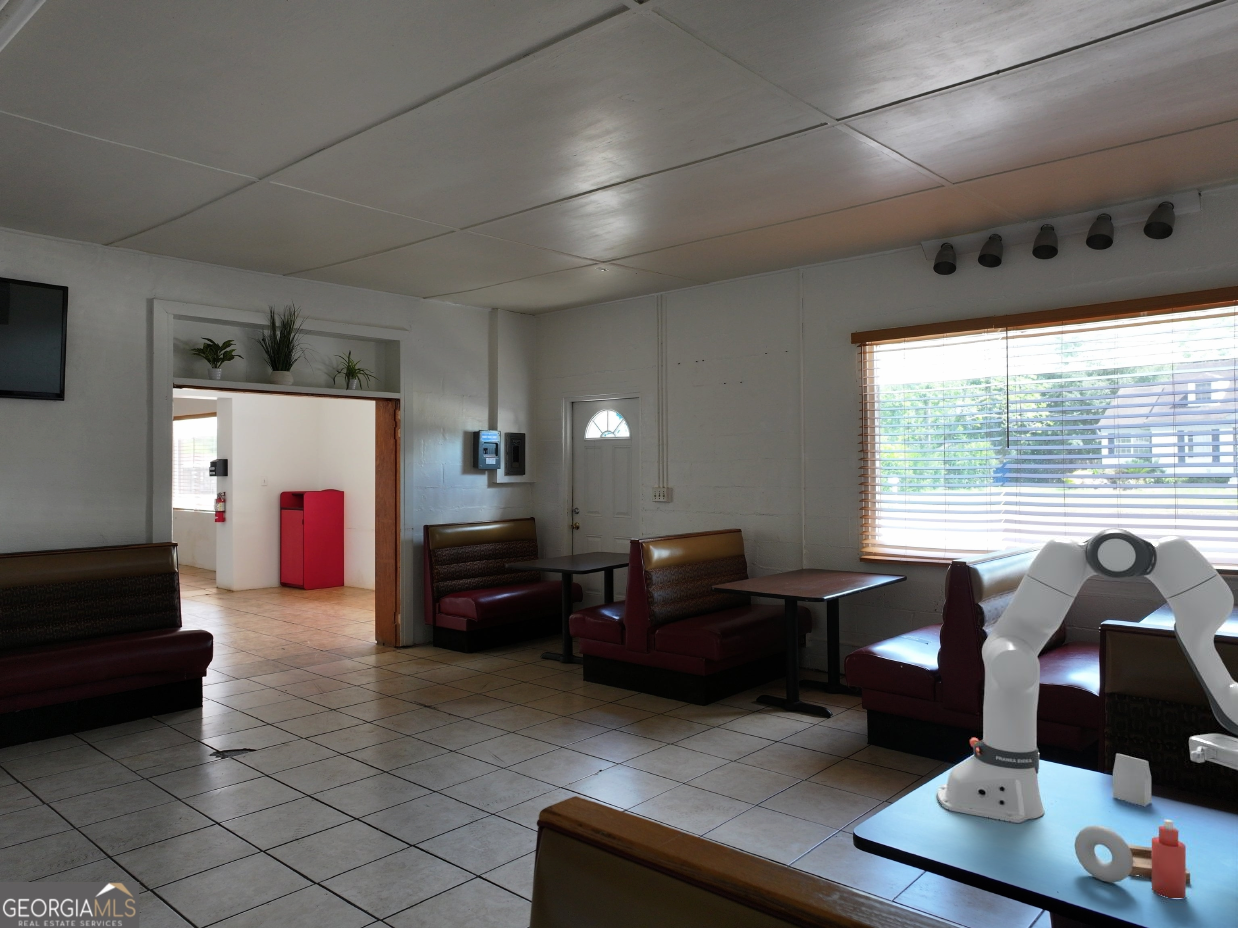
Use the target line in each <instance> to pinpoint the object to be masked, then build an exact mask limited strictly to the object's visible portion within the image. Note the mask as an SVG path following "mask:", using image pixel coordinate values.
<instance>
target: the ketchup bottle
mask: <svg viewBox="0 0 1238 928" xmlns="http://www.w3.org/2000/svg"><path fill="white" fill-rule="evenodd" d="M1151 848H1152V878H1151V887H1152V888H1151V891H1152V890H1153V891H1154V892H1153V891H1152V892H1153V893H1155V892H1156V893H1157V894H1156V893H1155V894H1156V895H1158V894H1160V895H1162V896H1165V897H1168V898H1167V899H1169V898H1184V897H1185V896H1186V889H1187V888H1186V887H1187V886H1186V885H1187V884H1186V869H1187V868H1186V867H1187V865H1186V861H1187V860H1186V857H1187V856H1186V854H1187V853H1186V849H1187V848H1186V845H1185V843H1183V842H1182V841H1180V840H1179V830H1178V829H1176V828H1175V827H1174V821H1173V820H1170V819H1163V825H1159V826H1158V836H1154V837H1152V838H1151ZM1160 895H1159V896H1160ZM1162 896H1161V897H1162ZM1165 897H1164V898H1165ZM1186 897H1187V896H1186ZM1186 897H1185V898H1186ZM1185 898H1184V899H1185Z"/></svg>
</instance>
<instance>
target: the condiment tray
mask: <svg viewBox="0 0 1238 928" xmlns="http://www.w3.org/2000/svg"><path fill="white" fill-rule="evenodd" d="M1128 846H1129V849H1130V851H1131V853H1132V857H1133V867H1132V871H1131V872H1130V874H1129V875H1128V876H1132V875H1139V876H1143V877H1142V878H1147V877H1151V878H1150V879H1152V846H1149V847H1148V846H1142V845H1134V844H1128ZM1139 876H1138V877H1139ZM1186 882H1188V883H1187V884H1191V873H1190V872H1189V870H1188V869H1187V868H1186Z"/></svg>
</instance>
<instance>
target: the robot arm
mask: <svg viewBox="0 0 1238 928" xmlns="http://www.w3.org/2000/svg"><path fill="white" fill-rule="evenodd" d="M1094 575H1095V576H1096V575H1099V576H1101V577H1103V578H1105V579H1108V580H1113V581H1123V580H1125V581H1126V580H1130V579H1135V578H1139V577H1145V578H1147V579H1148V580H1150V581H1151V583H1152V584H1153V585H1155V587H1156V588H1157V589H1158V591H1159V593H1160V594H1161V595H1162V596H1163V598H1164V599H1165V601H1166V602H1167V603H1168V605H1169V606H1170V609H1171V611H1172V613H1173V616H1174V621H1175V622H1174V624H1173V632H1174V635H1175V636H1176V640H1177V642H1178V643H1179V646H1180V649H1181V650H1182V652H1183V653H1184V656H1185V657H1186V659H1187V661H1188V663H1189V665H1190V666H1191V668H1192V670H1193V672H1194V673H1195V675H1196V678H1197V679H1198V681H1199V683H1200V684H1201V687H1202V688H1203V690H1204V692H1205V694H1206V697H1207V698H1208V702H1209V704H1210V707H1211V710H1212V713H1213V715H1214V717H1215V719H1216V720H1217V722H1218V723H1219V724H1220V725H1221V726H1222V727H1223V728H1225V729H1226V730H1227V731H1228V732H1230V733H1232V734H1234V735H1236V736H1238V682H1237V681H1235V680H1234V679H1233V678H1232V676H1231V674H1230V673H1229V671H1228V669H1227V668H1226V666H1225V664H1224V663H1223V660H1222V658H1221V656H1220V654H1219V652H1218V651H1217V650H1216V647H1215V643H1214V640H1215V639H1214V638H1215V635H1216V633H1217V631H1218V630H1219V629H1220V628H1221V627H1222V626H1223V625H1224V624H1225V623H1226V622H1227V620H1228V619H1229V618H1230V616H1231V614H1232V612H1233V610H1234V609H1233V608H1234V606H1235V605H1234V604H1235V598H1234V594H1233V592H1232V590H1231V589H1230V587H1229V585H1228V583H1227V582H1226V581H1225V580H1224V578H1223V577H1222V576H1221V574H1219V572H1218V571H1217V570H1216V568H1215V567H1214V566H1213V565H1212V564H1211V562H1209V561H1208V559H1207V558H1206V557H1205V556H1204V555H1203V554H1202V553H1201V552H1200V551H1199V550H1197V548H1196V547H1195V546H1194V545H1193V544H1191V543H1190V542H1189V541H1188V540H1187V539H1185V538H1183V537H1181V536H1178V535H1177V536H1176V535H1171V536H1170V535H1169V536H1163V537H1160V538H1158V539H1156V540H1154V541H1148V540H1146V539H1144V538H1141V537H1139V536H1137V535H1135V534H1134V533H1133V532H1131V531H1128V530H1126V529H1123V528H1122V529H1121V528H1116V527H1115V528H1107V529H1103V530H1101V531H1099V532H1097V533H1095V534H1094V535H1093V536H1092V537H1090V538H1089V539H1086V541H1083V542H1077V541H1074V540H1071V539H1068V538H1059V537H1056V538H1053V539H1050V540H1049V541H1048V542H1046V544H1045V545H1044V546H1043V547H1042V548H1041V550H1040V551H1039V552H1038V553H1037V555H1036V556H1035V558H1034V559H1033V560H1032V562H1031V564H1030V565H1029V567H1028V569H1027V571H1026V572H1025V574H1024V576H1023V577H1022V580H1021V581H1020V583H1019V585H1018V587H1017V588H1016V591H1015V593H1014V594H1013V597H1012V598H1011V601H1010V602H1009V603H1008V605H1007V607H1006V608H1005V610H1004V611H1003V613H1002V614H1001V615H1000V616H999V618H998V620H997V622H996V623H995V625H994V626H993V627H992V629H991V631H990V633H989V634H988V636H987V638H986V640H985V641H984V642H983V644H982V648H981V655H982V660H983V664H984V695H983V706H982V708H983V710H982V712H983V715H982V716H983V718H982V720H983V722H982V723H983V725H982V727H983V729H982V731H983V734H982V735H983V737H982V739H981V740H979V739H978V738H976V737H971V739H969V744H970V746H971V747H972V748H973V755H972V756H971V757H969V758H967V759H966V760H964V761H962V762H960V763H959V764H956V765H954V767H952V769H951V770H950V772H949V775H948V778H947V783H946V784H943V785H940V786H939V787H938V789H937V791H936V792H937V793H936V798H937V801H938V800H939V801H938V803H939V802H940V803H941V804H942V805H941V804H940V803H939V804H940V805H941V806H942V807H943V806H944V807H945V809H946V810H948V809H949V810H948V811H950V812H951V811H952V812H957V813H962V814H968V815H972V816H977V817H978V816H979V817H983V818H988V817H989V818H988V819H994V820H999V819H1000V821H1004V820H1005V822H1009V821H1011V822H1010V823H1015V824H1019V823H1023V822H1025V821H1027V820H1031V819H1036V818H1040V817H1041V816H1043V815H1044V814H1045V808H1044V806H1043V805H1044V804H1043V802H1042V801H1043V800H1042V798H1041V792H1040V787H1039V780H1038V778H1039V777H1038V774H1039V770H1040V752H1039V748H1038V746H1037V718H1038V717H1037V714H1038V713H1037V711H1038V705H1039V704H1038V703H1039V694H1040V678H1041V677H1040V676H1041V664H1040V659H1039V658H1038V656H1039V654H1040V652H1041V651H1042V649H1043V648H1044V647H1045V645H1046V644H1047V642H1048V641H1049V640H1050V638H1051V637H1052V636H1053V635H1054V634H1055V632H1056V631H1058V630H1059V628H1060V627H1061V625H1062V623H1063V620H1064V619H1065V618H1066V615H1067V613H1068V612H1069V610H1070V608H1071V606H1072V605H1073V603H1074V601H1075V598H1076V597H1077V595H1078V593H1079V591H1080V589H1081V588H1082V586H1083V584H1084V583H1085V581H1087V580H1088V579H1089V578H1090V577H1092V576H1094ZM1188 739H1189V740H1188V746H1189V755H1190V756H1189V757H1190V760H1191V761H1192V762H1195V763H1200V764H1201V763H1205V761H1209V762H1212V763H1215V764H1219V765H1222V766H1225V767H1228V768H1231V769H1234V770H1237V771H1238V737H1234V736H1229V735H1226V734H1221V733H1207V734H1206V733H1205V734H1200V735H1199V734H1197V735H1193V736H1192V735H1191V736H1190V737H1189V738H1188ZM944 807H943V808H944Z"/></svg>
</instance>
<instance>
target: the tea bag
mask: <svg viewBox="0 0 1238 928" xmlns="http://www.w3.org/2000/svg"><path fill="white" fill-rule="evenodd" d="M1151 774H1152V773H1151V771H1150V765H1149V761H1148V760H1145V759H1141V758H1136V757H1132V756H1129V755H1125V754H1121V753H1116V754H1115V760H1114V765H1113V769H1112V798H1113V797H1116V798H1120V799H1122V800H1121V801H1123V800H1126V801H1128V802H1127V803H1130V802H1133V803H1135V804H1134V805H1136V804H1139V805H1138V806H1140V805H1142V806H1141V807H1143V806H1145V807H1147V806H1148V805H1147V804H1148V803H1150V802H1151V803H1152V775H1151ZM1116 798H1115V799H1116ZM1120 799H1119V800H1120ZM1126 801H1125V802H1126ZM1133 803H1132V804H1133ZM1151 803H1150V804H1151ZM1146 805H1147V806H1146Z"/></svg>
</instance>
